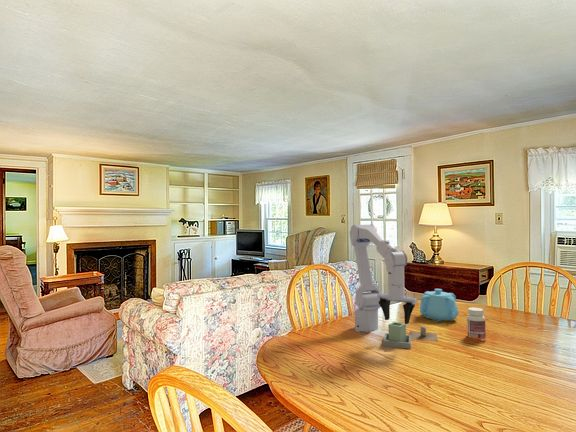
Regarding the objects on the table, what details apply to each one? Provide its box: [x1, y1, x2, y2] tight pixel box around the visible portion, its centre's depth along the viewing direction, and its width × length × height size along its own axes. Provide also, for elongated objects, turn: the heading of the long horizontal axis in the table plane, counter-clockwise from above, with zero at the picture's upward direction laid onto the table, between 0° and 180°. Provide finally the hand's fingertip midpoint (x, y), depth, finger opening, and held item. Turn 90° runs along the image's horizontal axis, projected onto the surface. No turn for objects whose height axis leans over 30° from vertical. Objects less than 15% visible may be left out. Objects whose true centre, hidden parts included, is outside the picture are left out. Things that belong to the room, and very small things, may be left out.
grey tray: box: [382, 332, 412, 350], centre depth 133 cm, size 9×9×2 cm
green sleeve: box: [387, 321, 407, 343], centre depth 133 cm, size 5×5×7 cm
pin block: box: [409, 325, 439, 343], centre depth 140 cm, size 10×10×4 cm
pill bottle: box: [466, 307, 487, 342], centre depth 138 cm, size 6×6×11 cm
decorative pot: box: [419, 288, 459, 323], centre depth 167 cm, size 16×16×14 cm
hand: (396, 321), depth 133 cm, fingers open, 7 cm apart
